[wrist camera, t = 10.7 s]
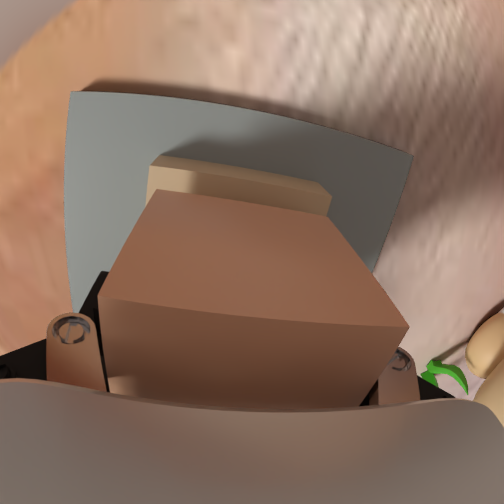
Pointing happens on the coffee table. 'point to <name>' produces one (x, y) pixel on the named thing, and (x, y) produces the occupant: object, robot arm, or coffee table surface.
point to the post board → (219, 136)
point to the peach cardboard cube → (243, 309)
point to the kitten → (481, 365)
